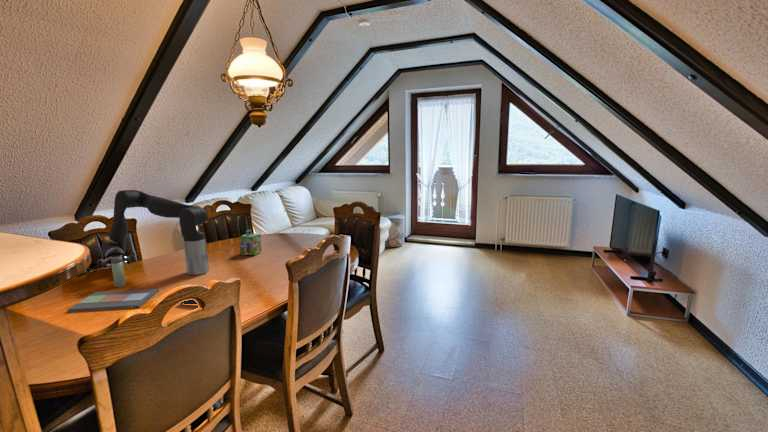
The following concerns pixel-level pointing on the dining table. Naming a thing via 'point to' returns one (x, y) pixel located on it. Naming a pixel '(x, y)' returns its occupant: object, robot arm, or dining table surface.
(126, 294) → the picture board
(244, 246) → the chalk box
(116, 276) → the green bottle grey cap
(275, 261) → the dining table surface
